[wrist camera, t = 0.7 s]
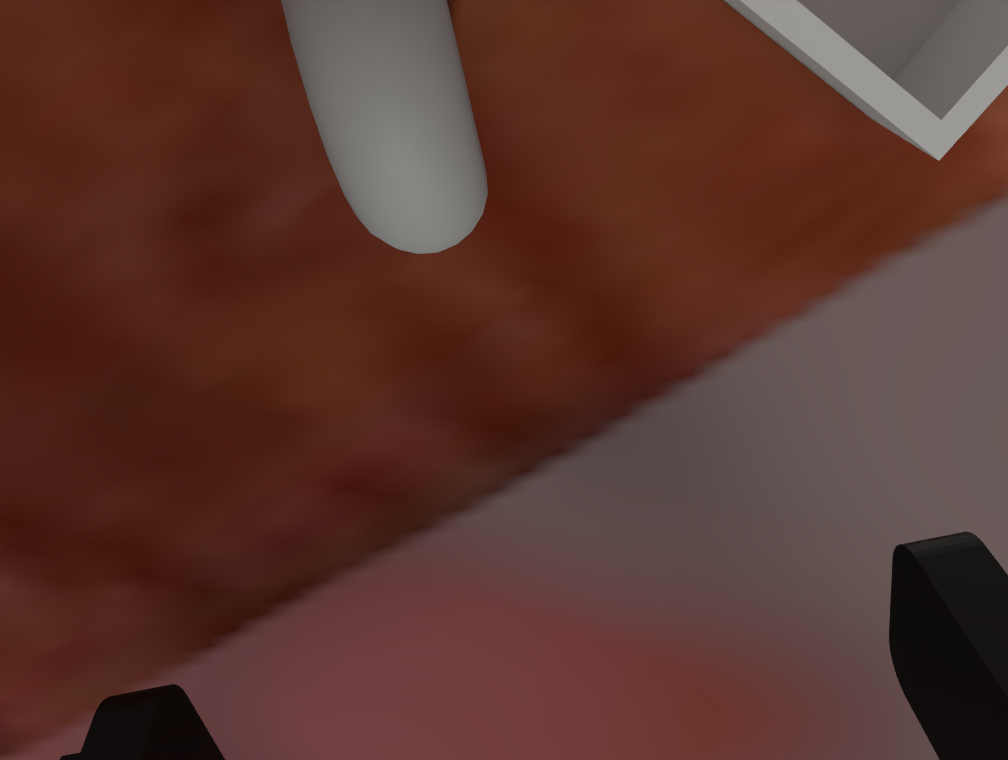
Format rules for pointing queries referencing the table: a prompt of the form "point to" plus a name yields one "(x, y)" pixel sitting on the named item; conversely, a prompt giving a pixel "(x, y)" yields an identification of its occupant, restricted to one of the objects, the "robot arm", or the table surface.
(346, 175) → the donut
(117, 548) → the table surface
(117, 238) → the table surface
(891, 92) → the walled tray
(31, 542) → the table surface
